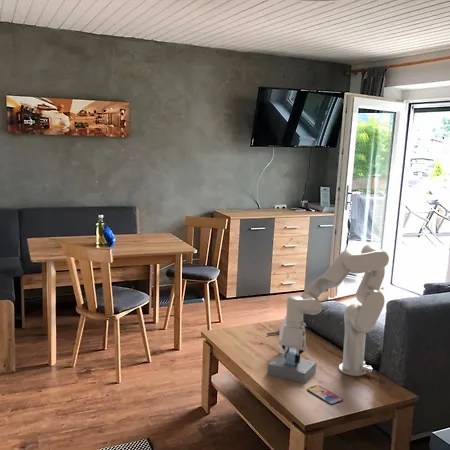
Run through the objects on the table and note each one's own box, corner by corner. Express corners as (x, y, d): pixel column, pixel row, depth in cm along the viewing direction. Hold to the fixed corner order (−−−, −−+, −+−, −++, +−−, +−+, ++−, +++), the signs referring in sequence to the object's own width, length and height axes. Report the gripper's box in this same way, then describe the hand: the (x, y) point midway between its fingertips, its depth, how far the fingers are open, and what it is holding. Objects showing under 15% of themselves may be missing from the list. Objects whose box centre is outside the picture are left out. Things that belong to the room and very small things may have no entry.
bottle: (293, 361, 251) (296, 311, 246) (274, 355, 257) (276, 306, 253) (304, 354, 259) (307, 305, 255) (285, 348, 266) (287, 300, 262)
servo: (299, 366, 241) (300, 349, 240) (292, 373, 233) (293, 355, 232) (291, 364, 243) (292, 347, 242) (283, 371, 235) (284, 353, 234)
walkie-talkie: (296, 330, 292) (265, 335, 283) (297, 323, 291) (266, 328, 282) (305, 336, 284) (274, 341, 275) (306, 328, 283) (274, 333, 274)
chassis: (315, 371, 240) (316, 361, 239) (304, 383, 228) (305, 373, 227) (280, 362, 249) (280, 352, 248) (267, 373, 237) (268, 363, 236)
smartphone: (331, 404, 210) (306, 388, 222) (331, 406, 210) (305, 390, 223) (344, 399, 214) (318, 384, 226) (343, 401, 214) (318, 386, 227)
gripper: (314, 324, 234) (312, 362, 237) (280, 317, 242) (279, 354, 245) (308, 329, 227) (306, 368, 230) (274, 321, 235) (272, 359, 239)
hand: (292, 360), depth 238 cm, fingers closed on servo, 4 cm apart
